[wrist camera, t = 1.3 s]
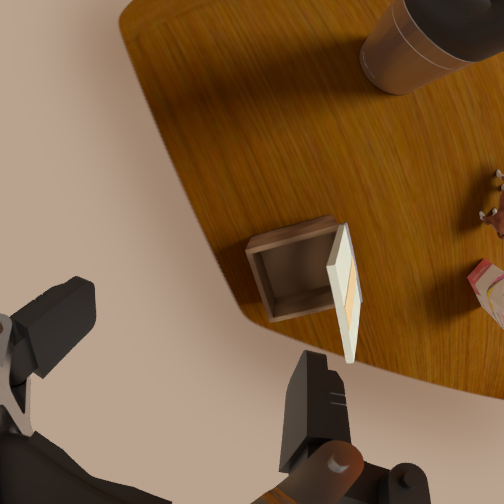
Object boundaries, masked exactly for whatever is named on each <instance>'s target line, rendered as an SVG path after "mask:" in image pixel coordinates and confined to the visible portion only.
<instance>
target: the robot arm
mask: <svg viewBox="0 0 504 504" xmlns="http://www.w3.org/2000/svg"><path fill="white" fill-rule="evenodd" d="M502 51H504V0H393V2H392V3H391V4H390V6H389V7H388V9H387V10H386V12H385V13H384V14H383V16H382V17H381V19H380V20H379V22H378V23H377V25H376V26H375V27H374V29H373V30H372V32H371V33H370V35H369V36H368V38H367V39H366V40H365V42H364V43H363V45H362V47H361V49H360V54H359V59H360V65H361V68H362V70H363V72H364V74H365V75H366V77H367V78H368V79H369V80H370V81H371V82H372V83H373V84H374V85H375V86H376V87H378V88H379V89H381V90H383V91H385V92H387V93H390V94H394V95H403V94H407V93H410V92H412V91H414V90H416V89H418V88H421V87H423V86H425V85H427V84H429V83H431V82H434V81H436V80H438V79H440V78H442V77H444V76H447V75H449V74H451V73H453V72H456V71H458V70H460V69H463V68H465V67H467V66H469V65H472V64H474V63H477V62H479V61H482V60H484V59H486V58H489V57H491V56H493V55H495V54H498V53H500V52H502ZM95 321H96V304H95V287H94V284H93V283H92V282H90V281H88V280H85V279H83V278H81V277H78V276H75V277H73V278H71V279H70V280H68V281H67V282H66V283H64V284H60V285H57V286H54V287H51V288H50V289H49V290H47V291H45V292H44V293H43V295H40V296H38V297H37V298H36V299H35V300H32V301H31V302H30V303H28V304H27V305H25V306H24V307H23V308H21V309H20V310H18V311H17V312H16V313H14V314H13V315H11V316H10V317H8V316H7V315H4V314H0V504H172V502H171V501H168V500H165V499H163V498H160V497H157V496H154V495H152V494H149V493H147V492H144V491H142V490H139V489H137V488H135V487H131V486H127V485H122V484H118V483H114V482H110V481H106V480H102V479H98V478H95V477H93V476H91V475H89V474H88V473H87V472H86V471H85V470H84V469H82V468H81V467H80V466H79V465H78V464H77V463H76V462H75V461H74V460H73V459H72V458H71V457H70V456H69V455H68V454H67V453H66V452H65V451H64V450H63V449H61V448H60V447H58V446H57V445H55V444H54V443H52V442H50V441H49V440H48V439H46V438H45V437H44V436H42V435H41V434H39V433H38V432H37V431H35V432H34V433H33V430H32V427H31V423H30V389H31V388H30V387H31V379H30V375H31V374H32V373H33V372H34V373H35V374H37V375H38V376H40V377H41V378H42V379H43V378H44V377H45V376H46V375H47V374H48V373H49V372H50V371H51V370H52V369H53V368H54V367H55V366H56V365H57V364H58V363H59V362H60V361H61V360H62V359H63V358H64V357H65V355H66V354H68V353H69V352H70V350H71V349H72V348H73V347H74V346H75V345H76V344H77V343H78V342H79V341H80V340H81V339H82V338H83V337H85V336H86V335H87V334H88V333H89V331H91V329H92V328H93V326H94V324H95ZM279 472H283V473H289V476H288V477H287V478H286V479H285V480H283V481H282V482H281V483H280V484H278V485H277V486H276V487H275V488H273V489H272V490H269V491H268V492H266V493H265V494H263V495H262V496H261V497H259V498H258V499H256V500H255V501H254V502H252V503H251V504H431V501H430V494H429V487H428V482H427V477H426V475H425V473H424V472H423V471H422V469H421V468H419V467H418V466H416V465H414V464H412V463H401V464H398V465H396V466H395V467H394V468H392V469H391V470H389V469H385V468H382V467H379V466H376V465H373V464H370V463H367V462H366V461H364V460H363V456H362V455H361V453H360V451H359V450H358V449H357V448H356V447H355V446H353V445H352V444H351V437H350V428H349V421H348V412H347V406H346V397H345V390H344V383H343V381H342V379H341V378H340V376H339V375H338V373H337V372H336V371H332V370H328V367H327V357H326V355H325V354H321V353H317V352H312V351H308V350H305V351H303V353H302V355H301V357H300V360H299V362H298V364H297V366H296V368H295V371H294V373H293V375H292V377H291V379H290V382H289V384H288V388H287V392H286V401H285V414H284V425H283V435H282V447H281V455H280V465H279Z"/></svg>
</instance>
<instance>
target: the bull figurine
mask: <svg viewBox="0 0 504 504" xmlns="http://www.w3.org/2000/svg"><path fill="white" fill-rule="evenodd" d="M496 174H497V177H498V178H501V179H502V180H503V181H504V174H501V173H500V170H499V169H497V170H496ZM501 190H502V194H501V196H500V200H499V209H498V211H496V208H493V210H492V212H493V214H492V216H489V217H487V216H485V215H484V213H483V211H480V212H479V215H480V219H482V220H483V221H484V222H485V223H486V225H489V224H492V227H493V228H494V229H495V230H496V231H497V234H498V237H499V238H500V239H504V184H502V185H501ZM500 234H502V236H501V235H500Z"/></svg>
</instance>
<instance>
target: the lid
mask: <svg viewBox="0 0 504 504" xmlns="http://www.w3.org/2000/svg"><path fill="white" fill-rule="evenodd" d="M326 267H327V271H328V276H329V280H330V284H331V289H332V293H333V298H334V302H335V307H336V312H337V317H338V321H339V326H340V332H341V337H342V342H343V347H344V353H345V359H346V363H354V357H355V350H356V342H357V333H358V324H359V314H360V303H362V295H361V289H360V283H359V277H358V272H357V267H356V262H355V256H354V252H353V247H352V242H351V237H350V233H349V228H348V224H347V223H341V224H340V225H339V227H338V230H337V234H336V237H335V240H334V243H333V247H332V250H331V253H330V256H329V259H328V263H327V266H326Z"/></svg>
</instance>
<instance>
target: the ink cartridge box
mask: <svg viewBox="0 0 504 504" xmlns="http://www.w3.org/2000/svg"><path fill="white" fill-rule="evenodd" d="M467 279H468V281H469V282H470V284H471V286H472V288H473V290H474V292H475V294H476V296H477V298H478V300H479V302H480V304H481V306H482V307H483V308H484V309H485V310H486V311H487V312H488V313H489V314H490V315H491V316H492V317H493V318H494V319H495V320H496V321H497V322H498V324H499V325H500V326H501V327H502V328H503V329H504V272H503V271H502V270H501V269H499V268H498V267H496V266H495V265H493V264H492V263H490V262H489V261H487V260H486V259H483V260H482V261H481V262H480V263H479V264H478V265H477V267H476V268H475V269H474V270H473V271H472V272H471V273H470V274H469V275H468V276H467Z"/></svg>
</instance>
